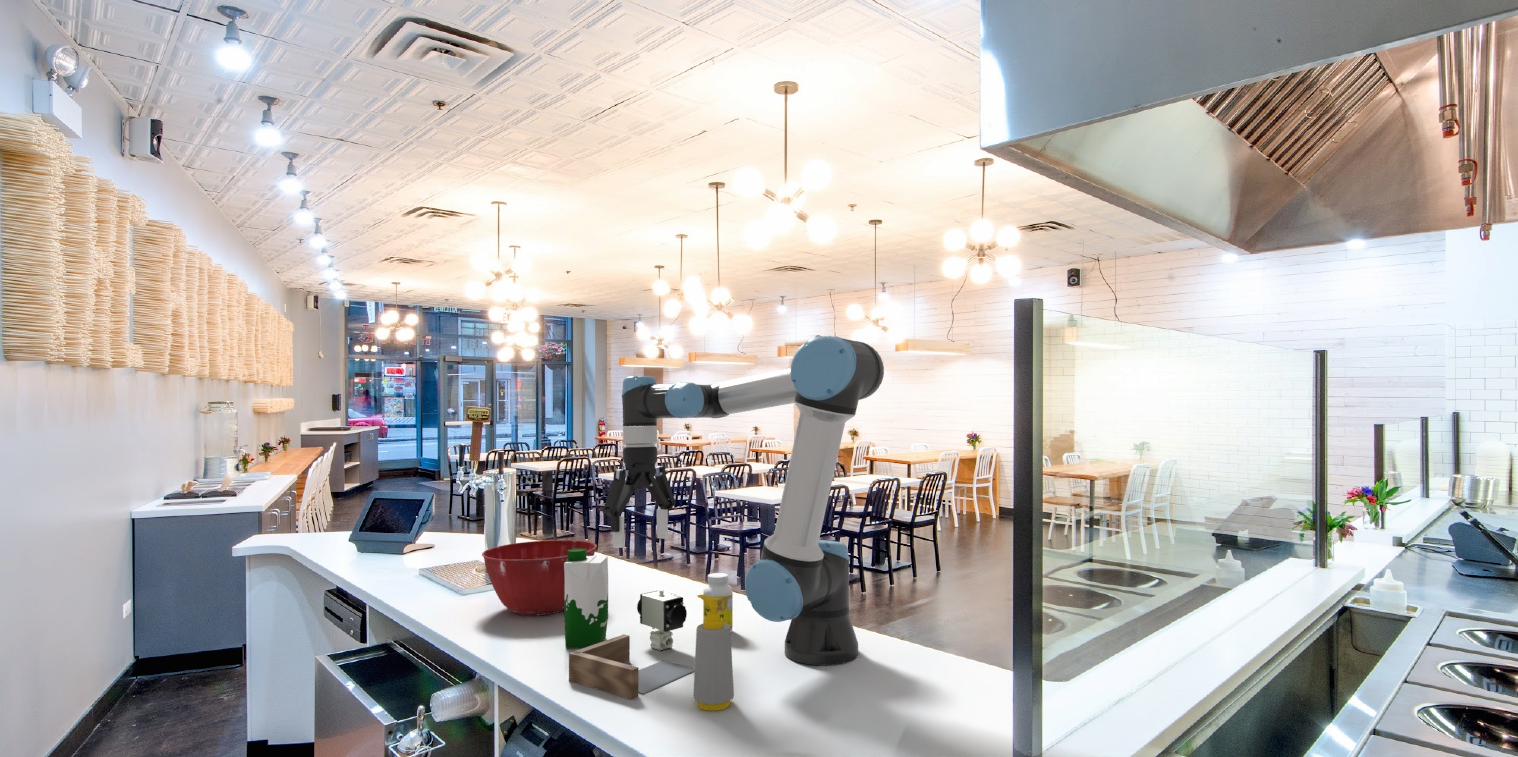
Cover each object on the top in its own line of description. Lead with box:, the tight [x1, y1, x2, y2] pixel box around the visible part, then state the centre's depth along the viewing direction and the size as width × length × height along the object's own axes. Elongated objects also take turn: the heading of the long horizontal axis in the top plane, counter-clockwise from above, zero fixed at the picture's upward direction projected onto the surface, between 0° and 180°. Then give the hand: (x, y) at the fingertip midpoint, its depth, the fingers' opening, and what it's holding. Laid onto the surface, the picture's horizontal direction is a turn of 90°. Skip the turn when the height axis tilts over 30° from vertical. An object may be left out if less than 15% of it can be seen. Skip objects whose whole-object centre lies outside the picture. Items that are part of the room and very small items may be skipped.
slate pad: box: [638, 659, 695, 695], centre depth 136 cm, size 9×15×1 cm, turn 145°
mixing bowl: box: [481, 539, 598, 616], centre depth 186 cm, size 28×28×16 cm
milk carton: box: [563, 548, 609, 649], centre depth 157 cm, size 9×9×20 cm
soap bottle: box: [693, 594, 735, 712], centre depth 123 cm, size 7×7×18 cm
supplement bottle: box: [702, 572, 734, 633], centre depth 164 cm, size 7×7×13 cm
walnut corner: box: [568, 634, 640, 700], centre depth 136 cm, size 16×14×5 cm
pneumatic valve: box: [636, 589, 688, 652], centre depth 154 cm, size 6×12×12 cm, turn 45°
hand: (641, 542), depth 159 cm, fingers open, 13 cm apart
